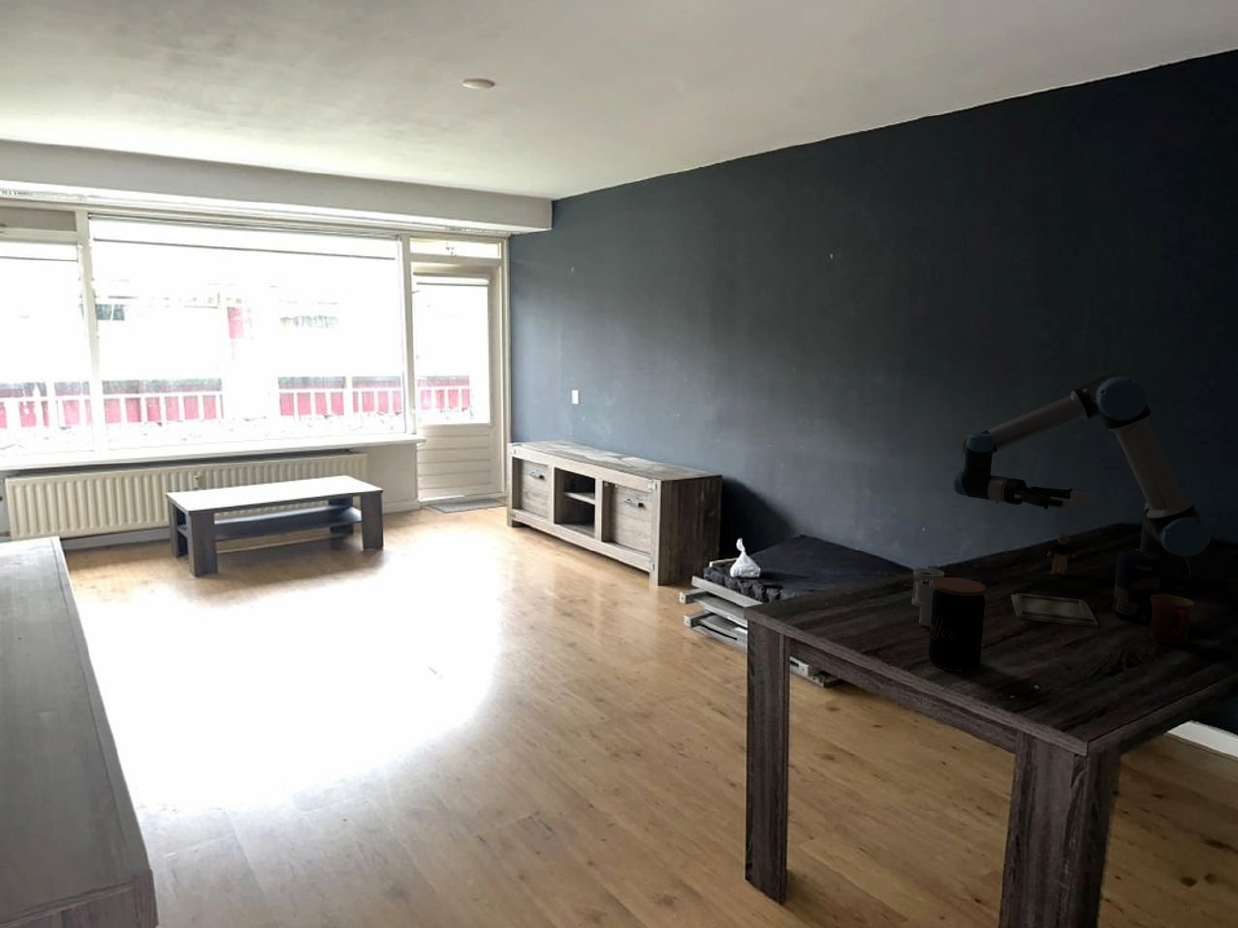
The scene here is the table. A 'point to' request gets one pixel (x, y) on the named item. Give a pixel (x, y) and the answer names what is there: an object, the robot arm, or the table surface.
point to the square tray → (1053, 610)
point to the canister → (1136, 584)
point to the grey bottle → (925, 591)
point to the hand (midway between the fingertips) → (1085, 502)
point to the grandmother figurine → (1061, 554)
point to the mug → (1170, 619)
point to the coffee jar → (956, 623)
